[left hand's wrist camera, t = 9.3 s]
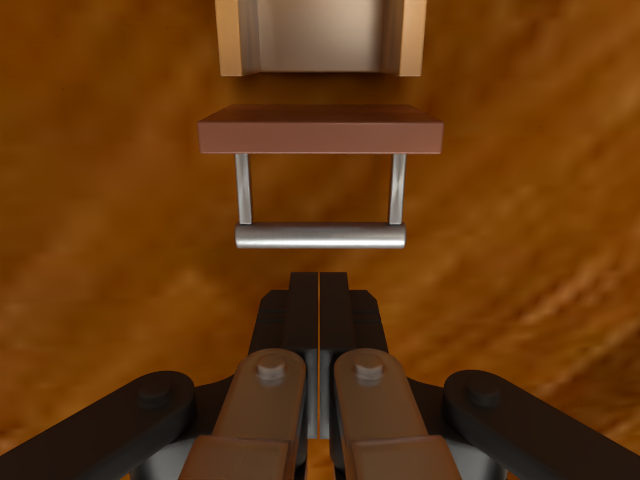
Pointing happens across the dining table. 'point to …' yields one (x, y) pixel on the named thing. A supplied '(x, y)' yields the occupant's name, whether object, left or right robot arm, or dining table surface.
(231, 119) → the drawer
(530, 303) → the dining table surface
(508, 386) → the left robot arm
